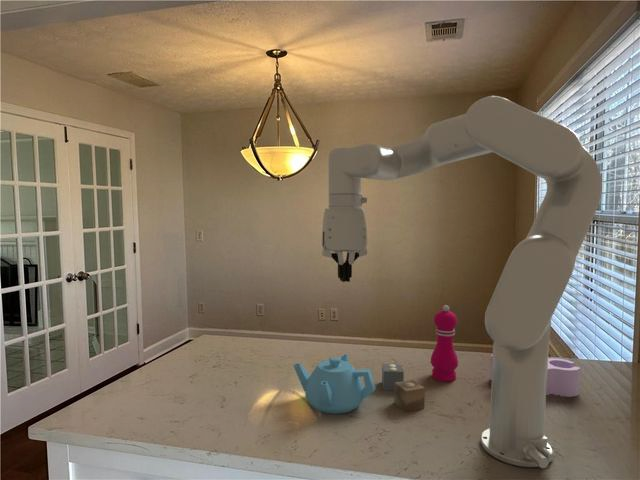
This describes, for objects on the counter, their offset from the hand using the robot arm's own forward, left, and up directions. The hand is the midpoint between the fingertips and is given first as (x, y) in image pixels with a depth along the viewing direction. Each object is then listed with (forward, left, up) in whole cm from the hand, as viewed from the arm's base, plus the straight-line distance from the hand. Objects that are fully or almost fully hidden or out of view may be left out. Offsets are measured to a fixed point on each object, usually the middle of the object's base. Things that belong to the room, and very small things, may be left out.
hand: (344, 280), depth 102 cm
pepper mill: (+9, -30, -29) cm, 43 cm away
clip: (-2, -50, -30) cm, 58 cm away
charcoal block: (+6, -14, -29) cm, 33 cm away
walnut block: (-5, -14, -29) cm, 33 cm away
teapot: (0, +3, -29) cm, 29 cm away
